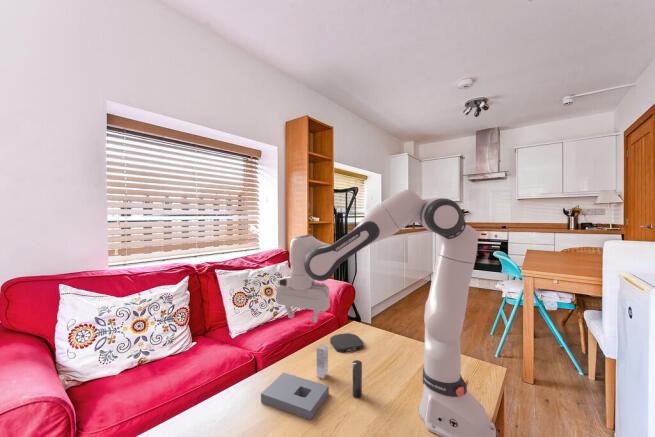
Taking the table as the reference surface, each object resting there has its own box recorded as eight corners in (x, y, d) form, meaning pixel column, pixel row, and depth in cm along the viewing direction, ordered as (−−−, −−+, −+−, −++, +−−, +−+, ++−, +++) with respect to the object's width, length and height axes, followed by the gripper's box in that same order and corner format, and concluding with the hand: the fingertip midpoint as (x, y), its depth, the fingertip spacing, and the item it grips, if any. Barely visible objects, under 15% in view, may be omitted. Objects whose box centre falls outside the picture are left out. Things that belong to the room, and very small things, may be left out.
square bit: (327, 374, 113) (327, 346, 113) (324, 379, 110) (324, 349, 110) (320, 372, 115) (320, 344, 114) (316, 377, 112) (316, 348, 111)
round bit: (363, 394, 101) (363, 362, 100) (357, 399, 98) (357, 366, 98) (356, 390, 103) (356, 359, 103) (350, 394, 101) (350, 362, 100)
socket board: (328, 393, 101) (328, 385, 101) (310, 420, 89) (310, 410, 89) (283, 379, 110) (283, 372, 110) (260, 401, 97) (260, 393, 97)
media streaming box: (353, 336, 148) (353, 331, 148) (365, 349, 134) (365, 343, 134) (328, 340, 143) (328, 335, 143) (338, 354, 130) (338, 348, 130)
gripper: (332, 281, 95) (332, 321, 96) (283, 276, 104) (283, 312, 104) (324, 286, 89) (325, 328, 90) (273, 279, 98) (273, 318, 99)
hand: (302, 319), depth 97 cm, fingers open, 8 cm apart
